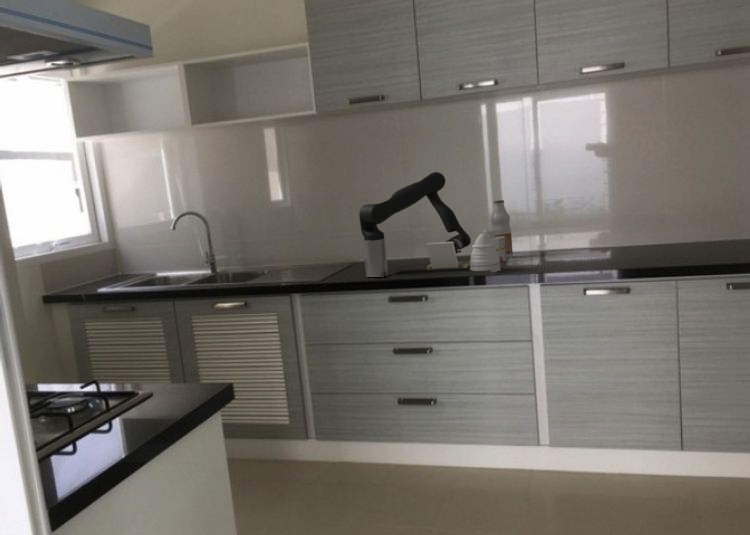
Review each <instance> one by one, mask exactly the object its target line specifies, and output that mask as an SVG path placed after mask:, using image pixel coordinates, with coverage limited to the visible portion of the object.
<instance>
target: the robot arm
mask: <svg viewBox="0 0 750 535" xmlns="http://www.w3.org/2000/svg"><path fill="white" fill-rule="evenodd" d="M445 185H446V178H445V176H444V175H443V174H442V173H441V172H437V171H434V172H431V173H429V174H428V175H426V176H425V177H424V178H422V179H421V180H419V181H416V182H414V183H411V184H409V185H406V186H404V187H402V188H400V189H398V190H396V191H395V192H394V193H392V195H391V196H390V198H388V199H387V200H385V201H382V202H379V203H372V204H371V203H369V204H363V205H362V206H361V208H360V209H359V212H358V213H359V214H358V215H359V223H360V231H361V234H362V236H363V240H364V241H363V242H364V249H365V250H364V251H365V257H364V265H365V275H366V278H367V277H382V278H385V277H384V276H386V277H389V269H388V261H387V260H388V259H387V250H386V249H387V248H386V241H385V240H386V239H385V234H384V232H383V231H382V230H380V229H379V228H378V226H377V225H380V224H382V223H383V222H385V221H386V220H389V218H391V217H392V216H393V215H395V214H397V213H400V212H401V211H404V210H406V209H408V208H409V207H411V206H413V205H415V204H417V203H418V202H419V201H420V200H422V199H423V198H425V197H426V198H427V199H428V201H429V202H430V204H431V205H432V206H433V208H434V210H436V213H437V214H438V216H439V218H440V220H441V223H442V224H443V226H444V229H445V230H446V232H447V233H453V232H456V233H458V234H457V235H455V236H452V237H450V238H449V239H447V240H446V241H445V242H453V243H454V247H455V252H456V255H457V254H458V253H459V254H460V253H461V252H462V251H461V250H462V249H464V248H466V247H469V246H470V245H471V242H472V239H471V237H470V235H469V234H468V233H467V231H466V230H465V229H464V228H463V227H462V225H461V224H460V223H459V220H458V218H457V216H456V214H455V213H454V210H453V209H451V208H450V207H449V206H448V205H447V204H446V203H445V202H443V200H442V198H441V197H440V195H439V193H438V192H439V191H440V190H442V189H443V188H445V187H444V186H445Z"/></svg>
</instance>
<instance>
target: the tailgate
mask: <svg viewBox="0 0 750 535" xmlns="http://www.w3.org/2000/svg"><path fill="white" fill-rule="evenodd" d="M425 246H426V249H427V253H428V256H429V263H430V264H431V266H432V271H444V270H445V271H447V270H459V269H460V268H459V265H458V258H457V257H458V256H457V254H456V252H455V247H454V243H453V242H446V241H444V242H443V241H442V242H441V241H440V242H439V241H438V242H426V244H425Z"/></svg>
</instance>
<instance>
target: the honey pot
mask: <svg viewBox="0 0 750 535" xmlns="http://www.w3.org/2000/svg"><path fill="white" fill-rule="evenodd" d="M489 232H491V231H490V229H484V230H483V233H480V234H479V235H478V236H477V238H476V239H475V242H474V244H473V245H472V246H471V247H472V251H471V255H470V258H469V259H470V260H469V261H470V266H469V270H470V271H473V272H484V271H485V272H486V271H487V272H488V271H489V272H497V271H500V272H501V263H500V262H501V260H500V259H499V257H498V255H497V253H496V250H495V248H494V246H495V245H496V244H495V243H492V242H491V240H490V239H489ZM497 273H498V272H497Z"/></svg>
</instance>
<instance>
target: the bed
mask: <svg viewBox="0 0 750 535" xmlns="http://www.w3.org/2000/svg"><path fill="white" fill-rule="evenodd" d="M457 261H458V260H457ZM458 265H459V269H467V268H468V267H470V260H459V261H458ZM426 270H432V266H431V263H430V264H428V265H427V266H426ZM432 271H433V270H432Z"/></svg>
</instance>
